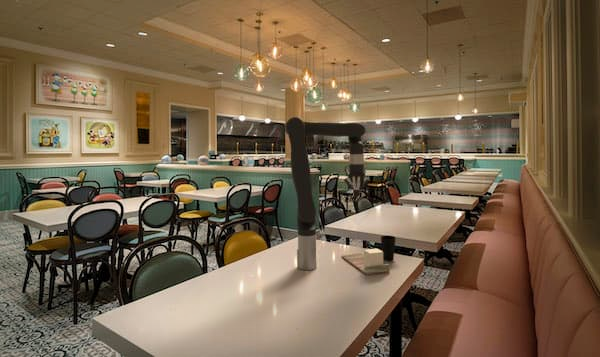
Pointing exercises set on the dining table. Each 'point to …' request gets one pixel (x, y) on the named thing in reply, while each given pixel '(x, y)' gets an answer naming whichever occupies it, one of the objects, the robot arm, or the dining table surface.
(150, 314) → the dining table surface
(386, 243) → the cup
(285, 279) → the dining table surface
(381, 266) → the track
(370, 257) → the block
